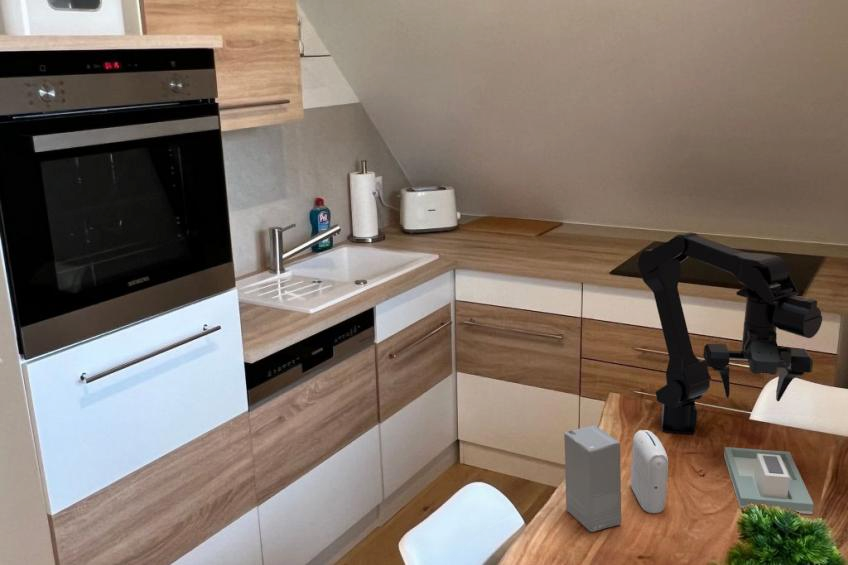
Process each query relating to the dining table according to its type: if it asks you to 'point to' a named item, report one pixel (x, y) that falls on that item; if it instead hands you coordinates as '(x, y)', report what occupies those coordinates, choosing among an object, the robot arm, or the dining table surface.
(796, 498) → the keyhole tray
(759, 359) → the robot arm
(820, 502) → the dining table surface
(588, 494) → the skincare box
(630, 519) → the dining table surface
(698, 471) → the dining table surface
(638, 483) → the photo printer
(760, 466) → the socket block
